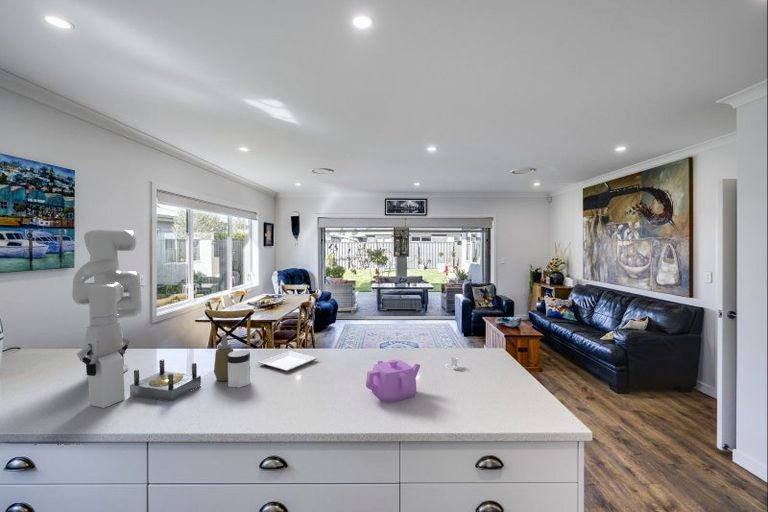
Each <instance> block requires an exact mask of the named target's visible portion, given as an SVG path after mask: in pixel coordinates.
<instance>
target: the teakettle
mask: <svg viewBox="0 0 768 512" xmlns="http://www.w3.org/2000/svg"><path fill="white" fill-rule="evenodd" d="M420 368H421V364H419V363H414V365H413V366H411V365H410V364H408V363H406V362H405V361H403V360H401V359H400V360H399V359H398V360H396V359H390V360H388V361H383V360H378V361H377V363H376V364H374V365H373V368H372V370H370V371H367V373H366V381H365V382H366V383H365V387H366V388H367V389H368V390H371V393H372V394H373V395H374V396H376V398H377V399H379V400H380V401H381V402H382V403H384V404H385V403H387V404H389V403H395V402H400V401H404V400H407V399H411V398H413V397H416V393H417V380H416V378H417V375H418V373H419V371H420Z"/></svg>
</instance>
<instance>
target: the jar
mask: <svg viewBox="0 0 768 512" xmlns="http://www.w3.org/2000/svg"><path fill="white" fill-rule="evenodd" d="M250 353H251V352H250V351H249V350H244V349H240V350H233V352H230V353H228V355H227V360H228V380H227V382H228V383H227V387H228V388H235V387H237V388H238V389H239V388H243V387H245V386H249V385H250V384H251V363H250V362H251V361H250V358H251V354H250Z"/></svg>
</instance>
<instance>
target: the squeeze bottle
mask: <svg viewBox="0 0 768 512" xmlns="http://www.w3.org/2000/svg"><path fill="white" fill-rule="evenodd" d="M231 345H232V344H231V342H228V337H227V334H222V337H221V342H219V343H218V344H217V347H218V348H217V349H216V350H215V357H214V365H213V366H214V369H213V373H214V376H215V378H216V380H217V381H219V382H226V381H227V382H228V360H227V355H228V353H230V352H233V351H234V348H232V346H231Z"/></svg>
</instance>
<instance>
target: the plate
mask: <svg viewBox="0 0 768 512" xmlns="http://www.w3.org/2000/svg"><path fill="white" fill-rule="evenodd" d="M317 359H318V357H316V356H312V355H308V354H304V353H301V352H296V351H294V350H293V351H292V350H288V351H284V352H282V353H279V354H276V355H273V356H271V357H268V358H264V359H261V360H259V361H257V363H258V364H262V365H264V366H268V367H271V368H275V369H277V370H282V371H286V372H289V371H291V370H294V369H296V368H299V367H301V366H303V365H306V364H308V363H311V362H313V361H315V360H317Z"/></svg>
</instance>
